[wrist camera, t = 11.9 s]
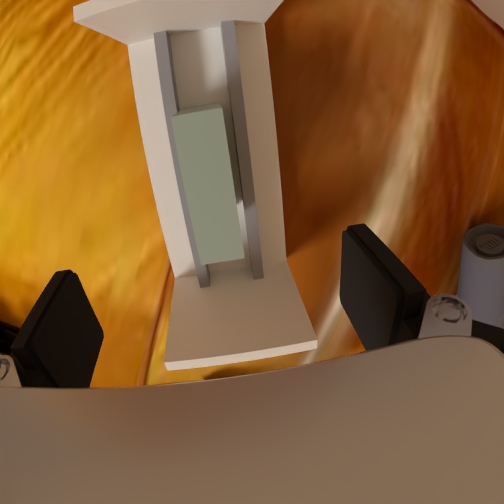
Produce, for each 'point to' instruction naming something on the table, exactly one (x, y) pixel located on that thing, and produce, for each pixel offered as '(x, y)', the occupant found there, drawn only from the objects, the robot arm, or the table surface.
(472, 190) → the table surface
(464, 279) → the bluetooth speaker
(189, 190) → the door panel
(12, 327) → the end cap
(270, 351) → the cabinet base
